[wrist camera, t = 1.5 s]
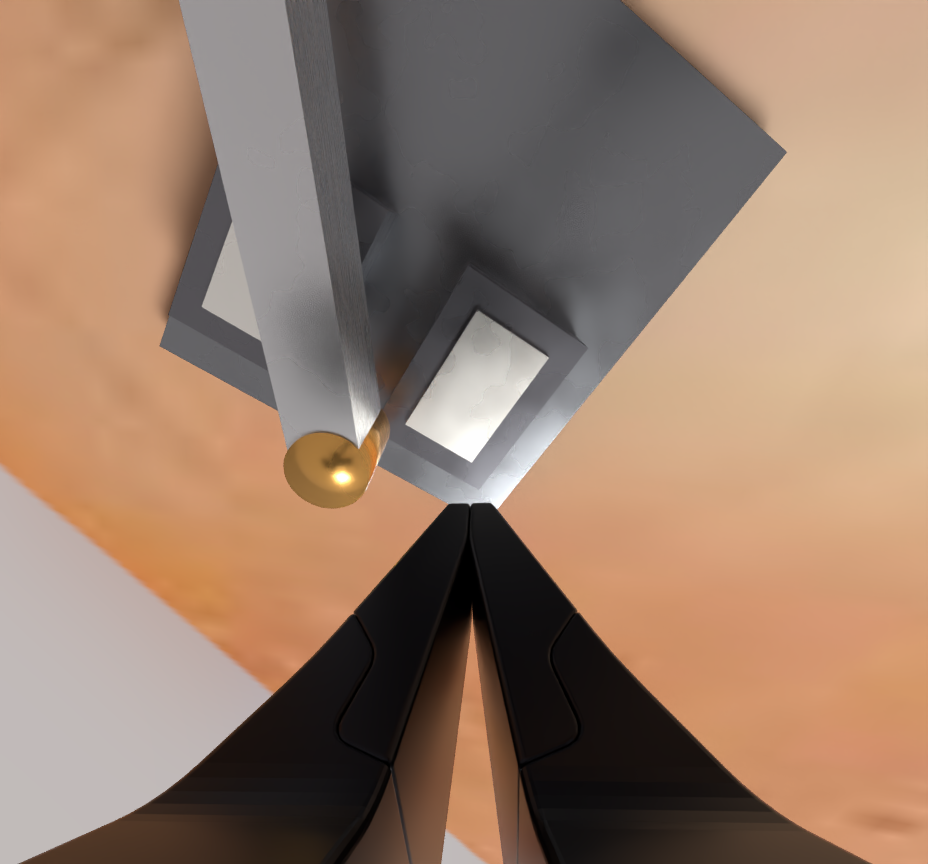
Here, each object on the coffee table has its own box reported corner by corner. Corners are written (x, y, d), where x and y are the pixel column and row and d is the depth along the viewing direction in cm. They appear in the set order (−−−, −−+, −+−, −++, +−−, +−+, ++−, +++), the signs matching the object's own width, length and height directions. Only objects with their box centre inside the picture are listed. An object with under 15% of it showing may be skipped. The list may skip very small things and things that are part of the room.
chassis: (363, -205, 12) (325, -351, 9) (768, 157, 15) (838, 137, 12) (175, 340, 18) (118, 360, 15) (484, 512, 22) (485, 554, 19)
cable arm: (169, -339, 8) (2, -652, 5) (290, -353, 8) (185, -682, 5) (327, 458, 15) (293, 509, 13) (393, 456, 15) (373, 507, 12)
